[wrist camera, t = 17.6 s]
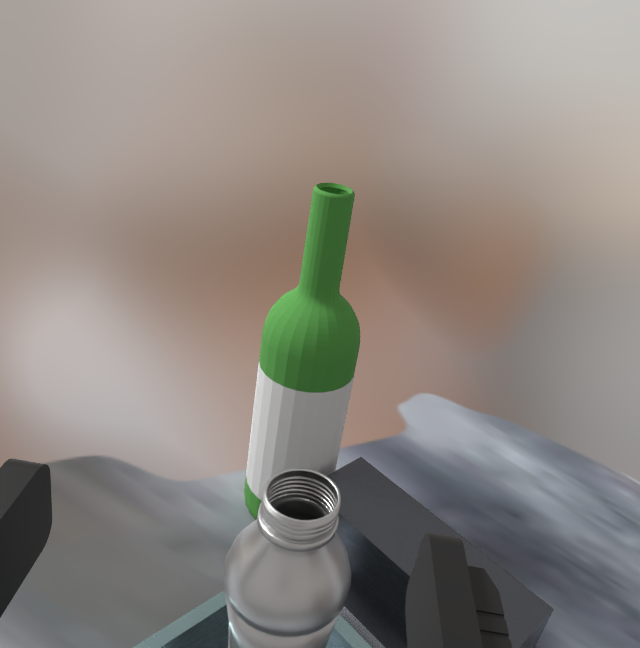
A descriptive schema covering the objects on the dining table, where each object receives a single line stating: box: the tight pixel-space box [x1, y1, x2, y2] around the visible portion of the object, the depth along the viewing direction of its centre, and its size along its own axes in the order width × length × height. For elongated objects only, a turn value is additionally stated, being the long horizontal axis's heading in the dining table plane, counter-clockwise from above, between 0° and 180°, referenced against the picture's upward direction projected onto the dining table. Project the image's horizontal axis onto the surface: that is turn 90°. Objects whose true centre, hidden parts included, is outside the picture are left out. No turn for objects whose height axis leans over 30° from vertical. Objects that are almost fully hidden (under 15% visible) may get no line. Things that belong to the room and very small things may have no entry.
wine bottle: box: [245, 183, 360, 519], centre depth 49 cm, size 8×8×30 cm
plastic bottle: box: [224, 468, 351, 648], centre depth 34 cm, size 6×7×20 cm
